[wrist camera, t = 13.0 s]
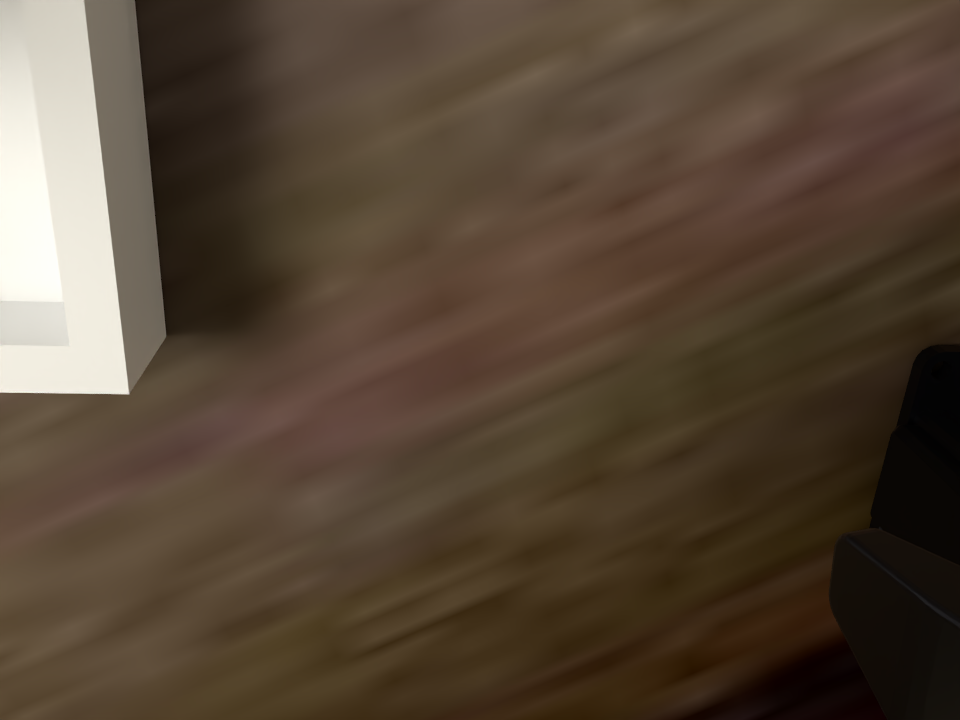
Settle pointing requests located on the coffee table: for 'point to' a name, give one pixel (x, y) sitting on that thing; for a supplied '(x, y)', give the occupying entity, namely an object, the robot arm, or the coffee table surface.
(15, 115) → the parts tray
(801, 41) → the coffee table surface
